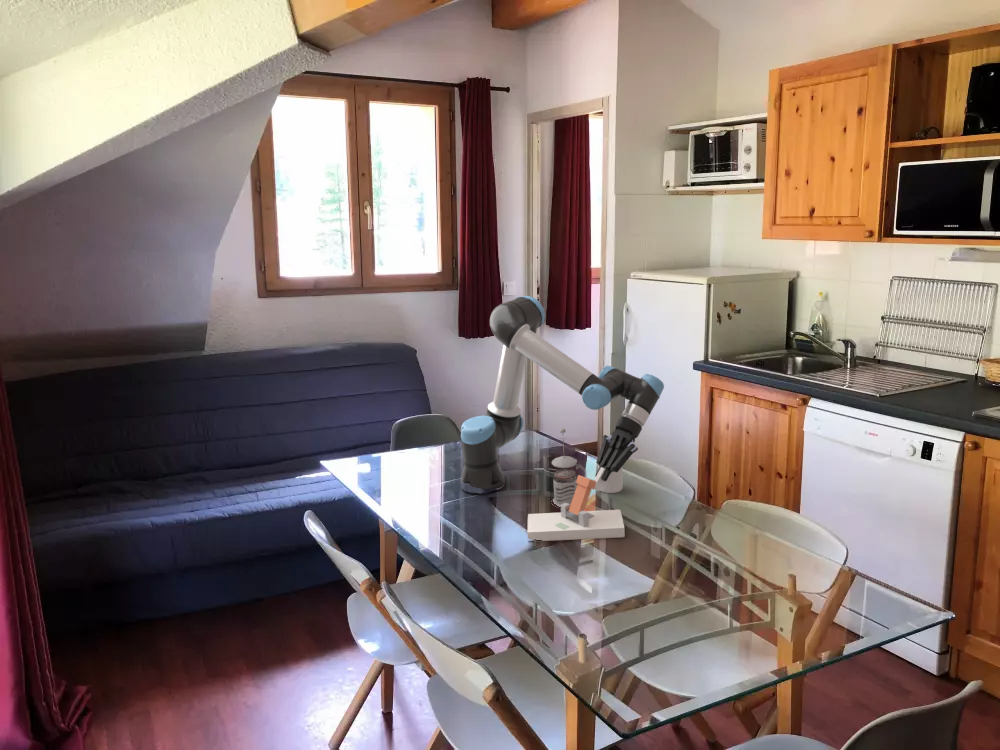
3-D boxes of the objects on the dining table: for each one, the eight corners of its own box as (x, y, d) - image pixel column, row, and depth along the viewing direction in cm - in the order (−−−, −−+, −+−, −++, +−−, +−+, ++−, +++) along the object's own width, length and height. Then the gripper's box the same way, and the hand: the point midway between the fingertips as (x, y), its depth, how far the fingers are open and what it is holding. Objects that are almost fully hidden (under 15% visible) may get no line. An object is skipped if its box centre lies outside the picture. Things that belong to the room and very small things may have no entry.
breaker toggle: (570, 517, 240) (584, 477, 240) (582, 523, 236) (596, 481, 237) (564, 516, 238) (578, 474, 239) (575, 521, 234) (589, 479, 235)
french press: (550, 496, 263) (546, 424, 256) (586, 493, 262) (582, 421, 255) (551, 509, 253) (547, 434, 246) (588, 507, 252) (585, 432, 246)
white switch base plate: (528, 541, 233) (526, 519, 231) (528, 523, 245) (527, 502, 243) (624, 537, 232) (623, 515, 230) (620, 518, 243) (619, 497, 241)
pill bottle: (622, 494, 260) (621, 450, 256) (597, 493, 261) (595, 450, 257) (623, 484, 267) (622, 442, 263) (599, 483, 269) (597, 441, 265)
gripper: (654, 432, 242) (617, 500, 237) (622, 422, 252) (586, 487, 247) (641, 420, 238) (603, 489, 233) (610, 411, 248) (573, 477, 243)
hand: (594, 488), depth 240 cm, fingers closed
